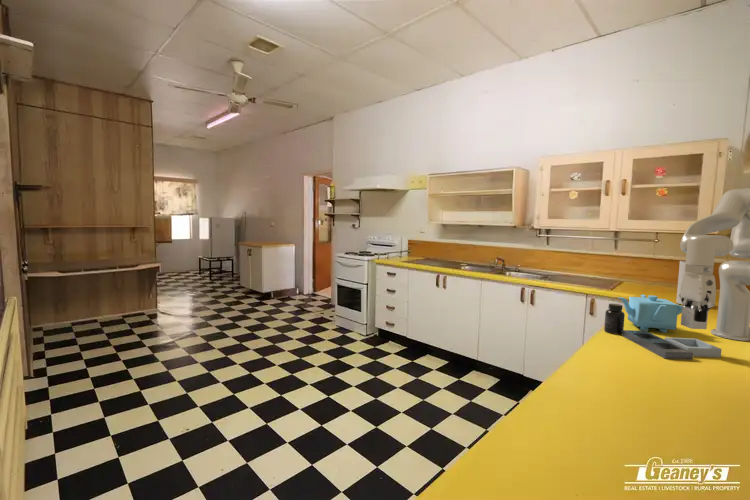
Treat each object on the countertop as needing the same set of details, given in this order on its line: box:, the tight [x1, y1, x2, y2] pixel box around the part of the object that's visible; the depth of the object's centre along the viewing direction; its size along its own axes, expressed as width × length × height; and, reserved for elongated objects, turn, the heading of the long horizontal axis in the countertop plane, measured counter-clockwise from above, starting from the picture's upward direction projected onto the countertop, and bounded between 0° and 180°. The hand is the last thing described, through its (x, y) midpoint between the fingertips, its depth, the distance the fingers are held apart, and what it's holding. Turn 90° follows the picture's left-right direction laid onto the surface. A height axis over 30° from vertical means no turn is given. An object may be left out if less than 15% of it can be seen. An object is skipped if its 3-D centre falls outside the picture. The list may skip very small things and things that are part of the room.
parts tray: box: [664, 336, 722, 358], centre depth 130 cm, size 11×11×3 cm
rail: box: [621, 329, 694, 361], centre depth 134 cm, size 24×9×2 cm, turn 176°
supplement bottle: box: [603, 303, 626, 335], centre depth 151 cm, size 7×7×12 cm
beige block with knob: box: [680, 305, 709, 330], centre depth 129 cm, size 5×5×8 cm
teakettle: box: [617, 294, 683, 334], centre depth 157 cm, size 19×19×15 cm
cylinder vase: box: [675, 260, 704, 306], centre depth 202 cm, size 12×12×25 cm
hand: (694, 318), depth 129 cm, fingers closed on beige block with knob, 5 cm apart
